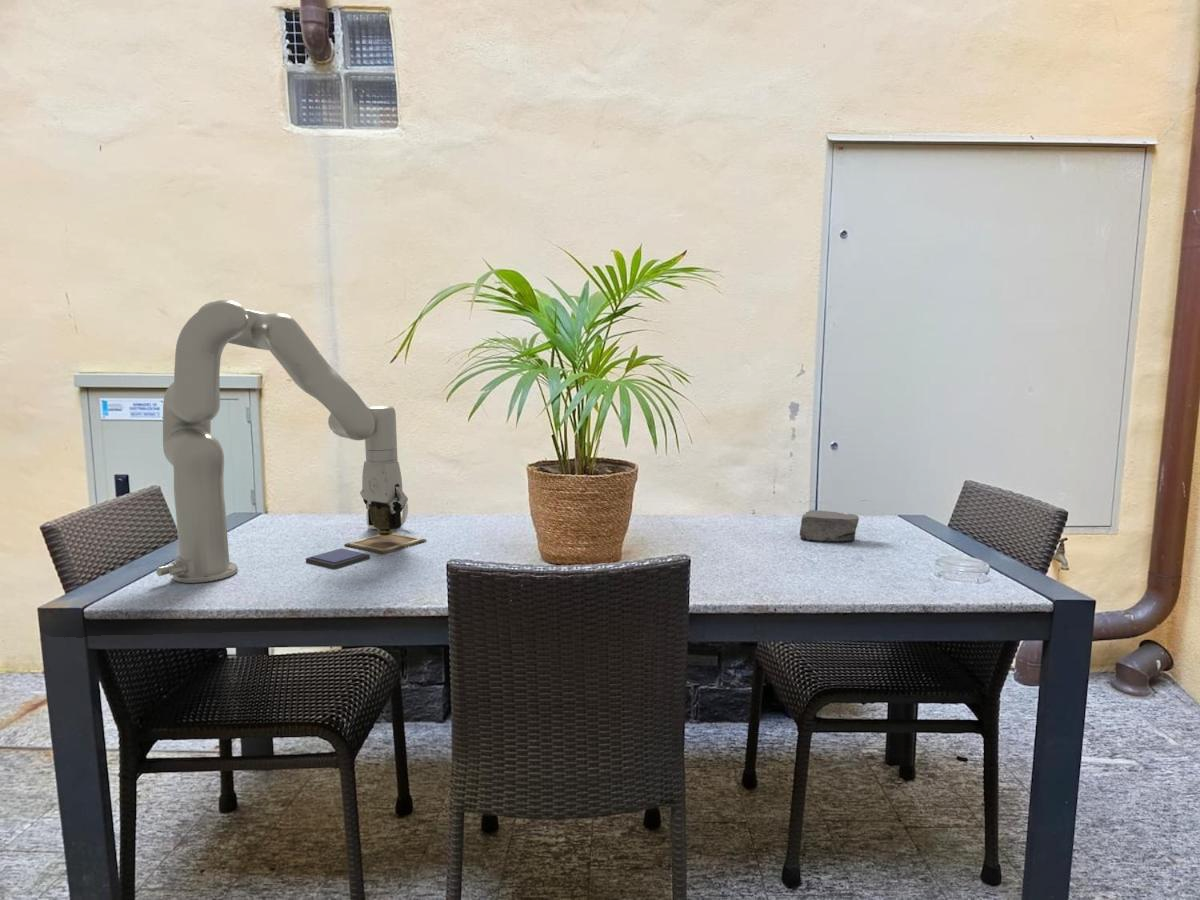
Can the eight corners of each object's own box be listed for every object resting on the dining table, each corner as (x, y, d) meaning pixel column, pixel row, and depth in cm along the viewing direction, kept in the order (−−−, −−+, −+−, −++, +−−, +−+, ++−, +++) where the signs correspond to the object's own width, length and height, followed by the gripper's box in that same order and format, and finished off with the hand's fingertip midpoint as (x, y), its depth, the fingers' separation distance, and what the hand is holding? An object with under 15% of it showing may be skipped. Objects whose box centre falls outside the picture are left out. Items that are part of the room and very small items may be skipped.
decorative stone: (794, 535, 202) (802, 544, 192) (795, 509, 202) (803, 516, 192) (851, 536, 202) (862, 545, 192) (852, 510, 201) (863, 517, 191)
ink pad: (334, 568, 173) (334, 563, 173) (306, 562, 178) (305, 557, 178) (369, 558, 181) (369, 553, 181) (341, 552, 186) (341, 547, 186)
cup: (404, 531, 197) (403, 500, 196) (394, 538, 190) (393, 506, 188) (376, 530, 198) (375, 499, 196) (365, 537, 190) (363, 505, 189)
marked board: (383, 554, 184) (383, 551, 184) (344, 545, 192) (344, 543, 192) (426, 541, 196) (426, 538, 196) (388, 534, 204) (388, 531, 203)
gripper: (346, 455, 192) (349, 524, 195) (394, 460, 183) (397, 534, 185) (370, 451, 199) (373, 519, 201) (417, 456, 189) (420, 527, 192)
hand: (384, 525), depth 193 cm, fingers closed on cup, 7 cm apart
